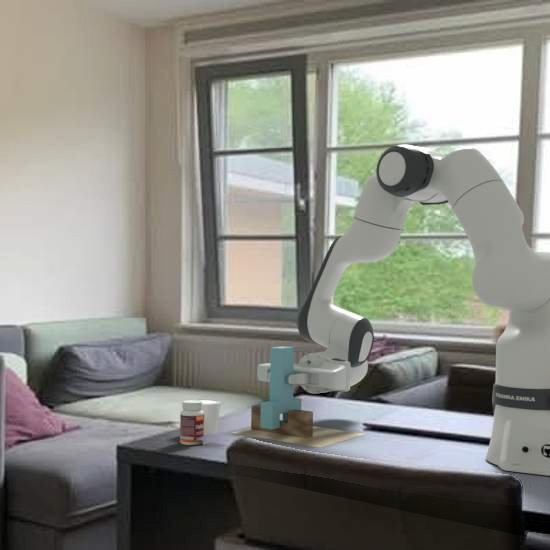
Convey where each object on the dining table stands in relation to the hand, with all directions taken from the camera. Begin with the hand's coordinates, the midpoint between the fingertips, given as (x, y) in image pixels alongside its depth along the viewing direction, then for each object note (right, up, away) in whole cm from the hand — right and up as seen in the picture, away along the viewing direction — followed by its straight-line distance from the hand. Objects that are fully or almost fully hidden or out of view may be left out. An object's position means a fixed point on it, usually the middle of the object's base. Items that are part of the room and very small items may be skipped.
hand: (279, 378), depth 161 cm
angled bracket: (0, -10, +1) cm, 10 cm away
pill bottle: (-18, -13, -3) cm, 22 cm away
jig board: (+4, -13, 0) cm, 13 cm away
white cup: (-16, -13, +6) cm, 21 cm away
